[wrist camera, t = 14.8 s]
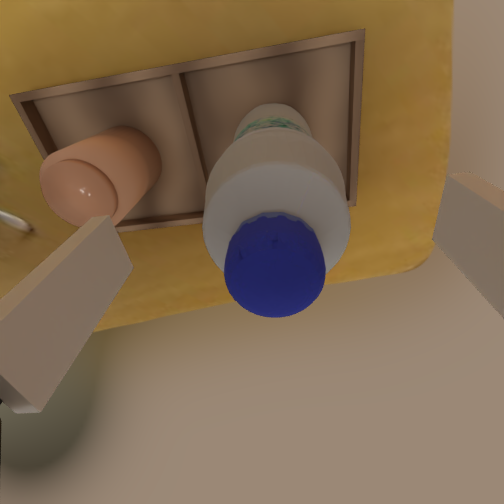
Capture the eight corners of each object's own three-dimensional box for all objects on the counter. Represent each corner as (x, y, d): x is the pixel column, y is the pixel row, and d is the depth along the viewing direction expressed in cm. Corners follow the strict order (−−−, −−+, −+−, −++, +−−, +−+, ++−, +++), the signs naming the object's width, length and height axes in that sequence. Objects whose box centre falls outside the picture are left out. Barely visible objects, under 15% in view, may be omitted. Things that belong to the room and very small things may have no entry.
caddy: (97, 224, 32) (85, 236, 30) (30, 92, 25) (8, 95, 23) (349, 195, 29) (355, 205, 27) (356, 31, 22) (365, 28, 20)
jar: (113, 193, 29) (60, 239, 22) (85, 131, 26) (12, 159, 18) (170, 186, 28) (135, 230, 21) (149, 120, 25) (98, 146, 18)
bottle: (250, 187, 28) (222, 376, 11) (221, 116, 24) (119, 235, 8) (319, 162, 26) (406, 340, 10) (298, 82, 23) (374, 143, 6)
